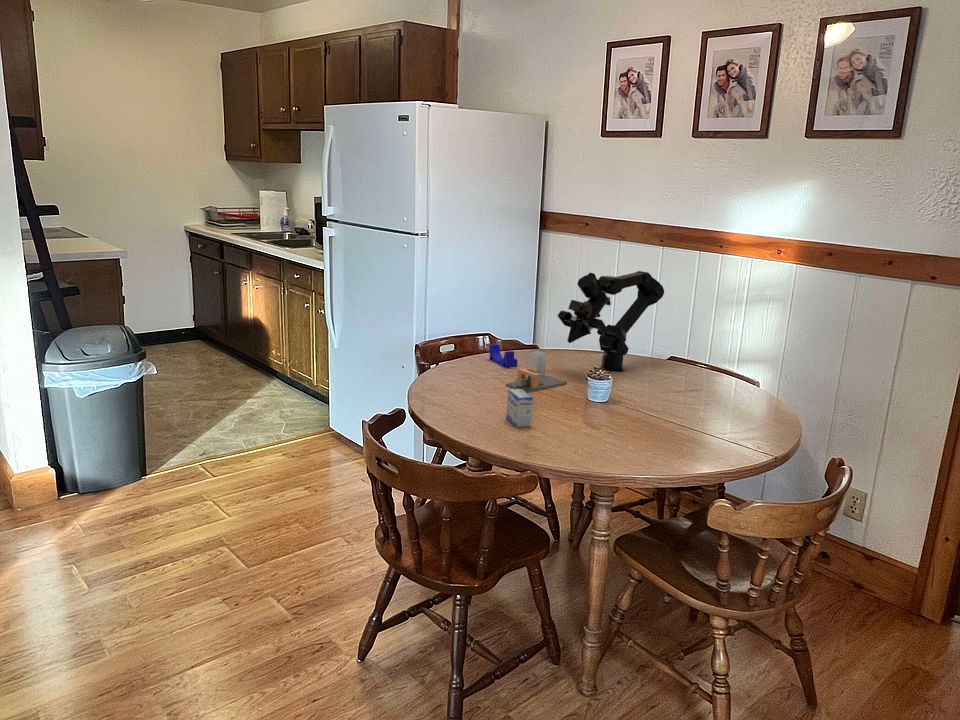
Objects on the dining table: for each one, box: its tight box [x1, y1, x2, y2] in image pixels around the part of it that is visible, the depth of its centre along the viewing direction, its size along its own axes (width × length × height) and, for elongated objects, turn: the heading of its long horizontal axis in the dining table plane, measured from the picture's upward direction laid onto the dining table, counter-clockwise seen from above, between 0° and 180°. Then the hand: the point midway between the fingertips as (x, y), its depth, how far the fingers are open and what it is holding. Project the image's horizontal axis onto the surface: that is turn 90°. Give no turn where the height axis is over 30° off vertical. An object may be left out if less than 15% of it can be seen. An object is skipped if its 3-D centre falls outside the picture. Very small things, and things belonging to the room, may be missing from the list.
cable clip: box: [489, 343, 518, 369], centre depth 269 cm, size 12×4×6 cm, turn 29°
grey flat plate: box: [505, 374, 568, 394], centre depth 245 cm, size 19×9×1 cm, turn 130°
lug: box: [517, 368, 540, 388], centre depth 242 cm, size 2×8×4 cm, turn 40°
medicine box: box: [505, 388, 534, 428], centre depth 208 cm, size 8×4×9 cm, turn 21°
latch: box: [515, 350, 548, 387], centre depth 241 cm, size 10×4×10 cm, turn 130°
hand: (568, 342), depth 251 cm, fingers closed
